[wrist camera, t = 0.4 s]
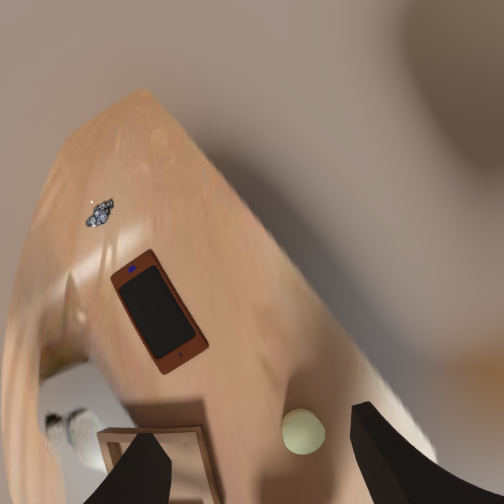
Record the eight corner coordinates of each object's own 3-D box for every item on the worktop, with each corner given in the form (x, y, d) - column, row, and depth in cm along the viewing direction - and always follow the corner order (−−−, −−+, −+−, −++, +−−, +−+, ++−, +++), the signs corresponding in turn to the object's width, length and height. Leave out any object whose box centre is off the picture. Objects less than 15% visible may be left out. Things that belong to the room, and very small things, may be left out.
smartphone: (149, 247, 39) (209, 346, 35) (152, 250, 40) (210, 346, 35) (108, 276, 38) (161, 376, 33) (111, 278, 39) (164, 375, 34)
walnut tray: (224, 514, 28) (220, 527, 24) (134, 512, 27) (125, 522, 24) (201, 424, 32) (195, 431, 29) (109, 427, 32) (96, 432, 28)
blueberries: (75, 221, 42) (69, 217, 40) (107, 182, 43) (101, 176, 41) (97, 246, 41) (90, 242, 39) (131, 204, 42) (125, 199, 40)
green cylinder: (320, 436, 31) (328, 448, 26) (284, 444, 31) (287, 458, 26) (314, 404, 32) (322, 412, 28) (278, 412, 32) (280, 422, 27)
